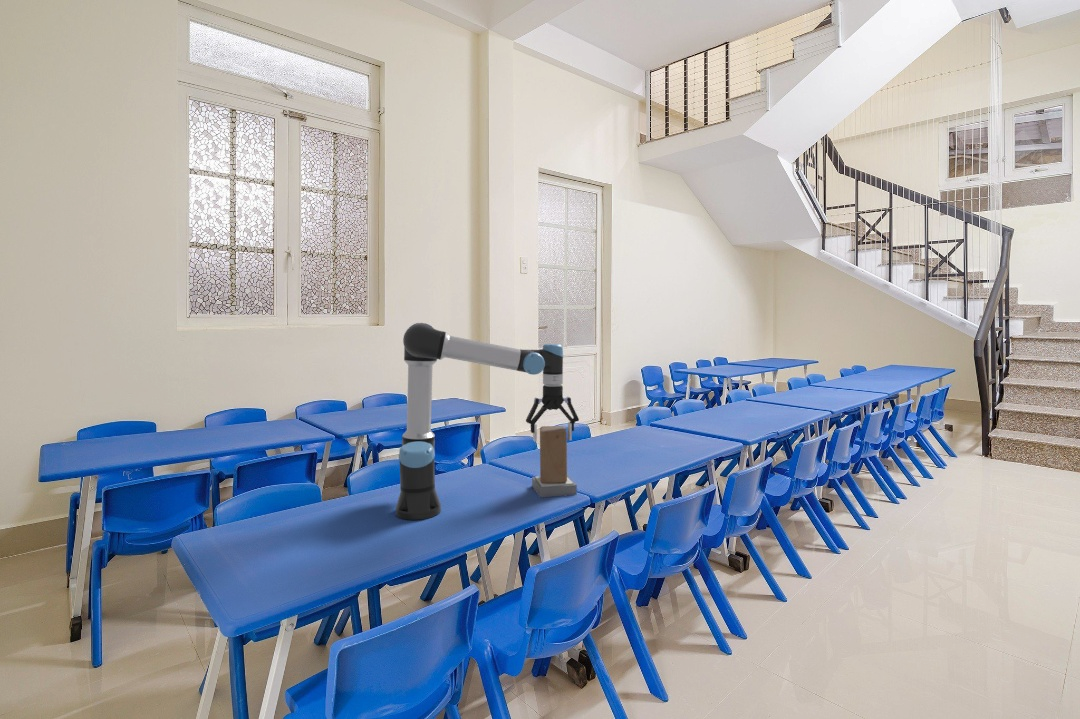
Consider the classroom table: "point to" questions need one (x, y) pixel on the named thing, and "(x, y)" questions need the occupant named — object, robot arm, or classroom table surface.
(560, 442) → the wooden block
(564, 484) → the base
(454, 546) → the classroom table surface
